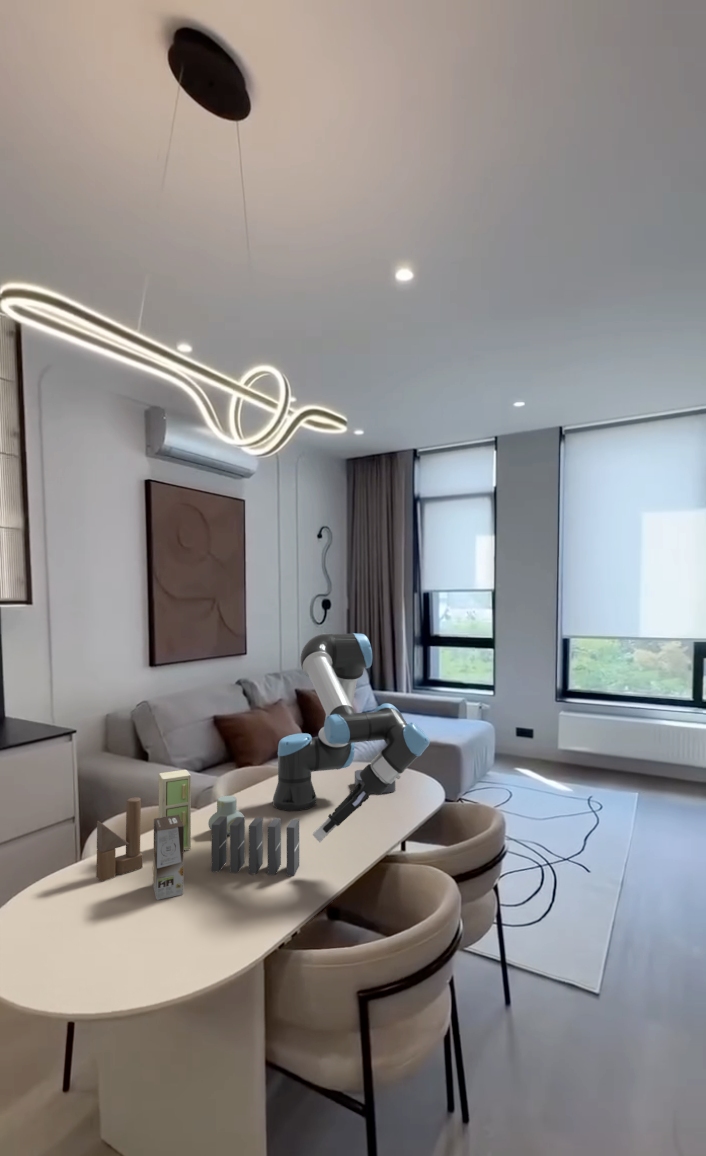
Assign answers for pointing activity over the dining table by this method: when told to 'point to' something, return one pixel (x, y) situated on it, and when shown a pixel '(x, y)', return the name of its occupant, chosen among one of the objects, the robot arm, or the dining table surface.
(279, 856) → the domino
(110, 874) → the brown angular blocky piece
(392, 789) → the streaming box
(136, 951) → the dining table surface
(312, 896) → the dining table surface
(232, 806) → the air freshener
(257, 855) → the domino
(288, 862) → the domino
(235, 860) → the domino
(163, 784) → the toy refrigerator
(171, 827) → the coffee box
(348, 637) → the robot arm
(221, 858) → the domino
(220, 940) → the dining table surface
